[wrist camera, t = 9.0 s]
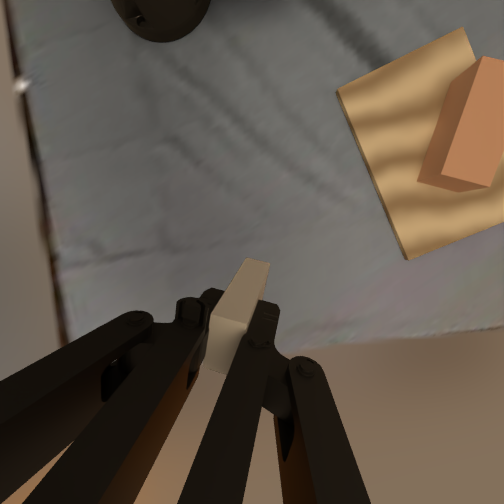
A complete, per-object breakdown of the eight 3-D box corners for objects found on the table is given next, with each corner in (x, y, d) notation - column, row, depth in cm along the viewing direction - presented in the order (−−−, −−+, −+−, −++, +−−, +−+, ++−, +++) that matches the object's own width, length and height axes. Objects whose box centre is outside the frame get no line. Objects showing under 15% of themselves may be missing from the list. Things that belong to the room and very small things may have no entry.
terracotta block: (489, 187, 34) (534, 68, 32) (440, 174, 34) (482, 55, 33) (458, 192, 40) (494, 92, 38) (416, 181, 40) (451, 81, 39)
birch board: (335, 92, 41) (337, 88, 40) (457, 32, 39) (462, 26, 38) (405, 259, 43) (408, 260, 42) (525, 210, 41) (533, 209, 39)
